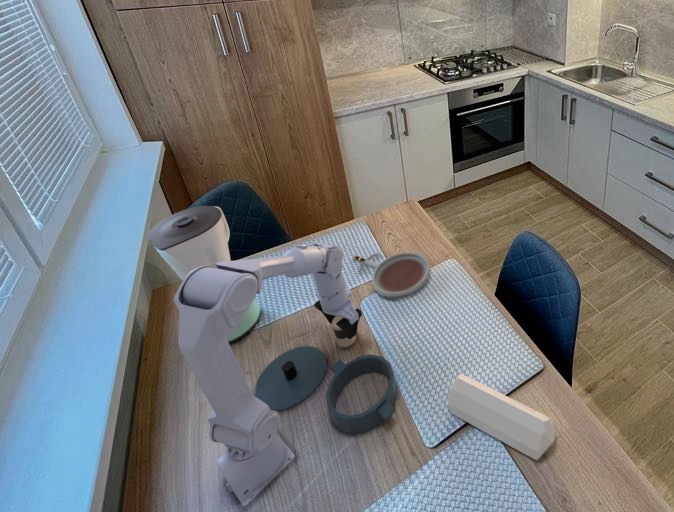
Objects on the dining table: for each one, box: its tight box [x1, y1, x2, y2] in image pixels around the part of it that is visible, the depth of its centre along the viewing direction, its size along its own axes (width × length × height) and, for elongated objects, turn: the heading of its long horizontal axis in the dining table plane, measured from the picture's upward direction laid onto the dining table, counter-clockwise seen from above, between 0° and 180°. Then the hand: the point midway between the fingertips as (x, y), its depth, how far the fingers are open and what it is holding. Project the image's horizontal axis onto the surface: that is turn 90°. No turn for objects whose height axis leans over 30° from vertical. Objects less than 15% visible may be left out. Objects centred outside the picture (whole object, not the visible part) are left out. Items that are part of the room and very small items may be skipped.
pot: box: [325, 354, 398, 435], centre depth 87 cm, size 14×19×6 cm
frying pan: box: [352, 251, 431, 300], centre depth 122 cm, size 17×3×28 cm
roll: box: [331, 316, 357, 348], centre depth 100 cm, size 4×4×8 cm
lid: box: [254, 345, 328, 412], centre depth 92 cm, size 15×15×5 cm
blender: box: [147, 205, 261, 344], centre depth 100 cm, size 19×13×35 cm
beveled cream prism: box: [447, 373, 556, 461], centre depth 84 cm, size 7×7×24 cm
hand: (343, 328), depth 100 cm, fingers open, 7 cm apart
